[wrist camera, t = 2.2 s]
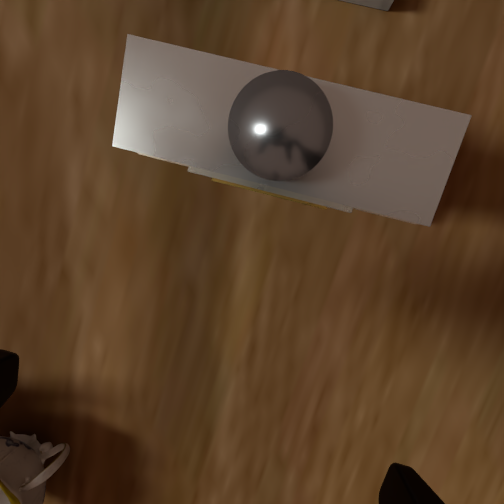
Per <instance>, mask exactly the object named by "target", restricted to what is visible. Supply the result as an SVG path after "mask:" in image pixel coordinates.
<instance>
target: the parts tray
mask: <svg viewBox="0 0 504 504" xmlns="http://www.w3.org/2000/svg"><path fill="white" fill-rule="evenodd" d="M340 1H345V2H349V3H354V4H358V5H363V6H367V7H372V8H376V9H381V10H385V11H388V10H389V8H390V6H391V5H392V3H393V1H394V0H340Z"/></svg>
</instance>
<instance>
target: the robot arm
mask: <svg viewBox="0 0 504 504" xmlns="http://www.w3.org/2000/svg"><path fill="white" fill-rule="evenodd" d="M18 369H19V356H18V355H17V354H16V353H13V352H10V351H6V350H1V349H0V408H1V406H2V405H3V404H4V403H5V402H6V401H7V399H8V398H9V397H10V396H11V395H12V393H13V392H14V390H15V388H16V386H17V381H18ZM379 504H445V503H444V502H443V501H442V500H441V499H440V498H439V497H438V496H437V494H436V493H435V492H434V491H433V490H432V489H431V488H430V487H429V486H428V485H427V484H426V482H425V481H424V480H423V479H422V478H421V477H420V476H419V475H418V474H417V473H416V471H415V470H414V469H413V468H411V467H409V466H406V465H402V464H399V463H392V464H391V465H390V467H389V469H388V472H387V474H386V476H385V479H384V481H383V484H382V486H381V488H380V492H379Z"/></svg>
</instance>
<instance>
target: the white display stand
mask: <svg viewBox="0 0 504 504" xmlns="http://www.w3.org/2000/svg"><path fill="white" fill-rule="evenodd" d="M471 116H472V115H468V114H464V113H459V112H455V111H451V110H447V109H443V108H438V107H434V106H430V105H426V104H421V103H417V102H413V101H409V100H404V99H400V98H396V97H392V96H388V95H383V94H379V93H375V92H371V91H366V90H362V89H358V88H354V87H349V86H345V85H341V84H337V83H332V82H328V81H324V80H320V79H316V78H311V77H307V76H304V75H302V74H300V73H297V72H294V71H288V70H277V69H273V68H269V67H265V66H260V65H256V64H252V63H248V62H244V61H239V60H235V59H231V58H227V57H222V56H218V55H214V54H210V53H205V52H201V51H197V50H193V49H189V48H184V47H180V46H176V45H172V44H167V43H163V42H159V41H155V40H150V39H146V38H142V37H138V36H133V35H129V34H128V35H127V43H126V50H125V57H124V64H123V72H122V79H121V86H120V93H119V101H118V108H117V115H116V122H115V130H114V137H113V144H112V146H114V147H118V148H122V149H126V150H130V151H134V152H138V154H141V155H144V156H148V157H152V158H156V159H160V160H164V161H168V162H172V163H176V164H180V165H184V166H188V167H189V168H188V171H189V172H192V173H196V174H200V175H204V176H208V177H212V181H216V182H220V183H224V184H228V185H232V186H235V187H239V188H243V189H247V190H251V191H255V192H259V193H263V194H267V195H271V196H275V197H279V198H282V199H286V200H290V201H294V202H298V203H302V204H306V205H310V206H314V207H318V208H322V209H327V207H330V208H334V209H338V210H342V211H346V212H349V213H351V212H352V209H357V210H361V211H365V212H369V213H373V214H377V215H381V216H385V217H389V218H392V219H396V220H400V221H404V222H408V223H412V224H421V225H425V226H429V227H430V225H431V222H432V220H433V217H434V214H435V212H436V209H437V206H438V204H439V201H440V198H441V196H442V193H443V190H444V188H445V185H446V182H447V180H448V177H449V174H450V172H451V169H452V166H453V164H454V161H455V158H456V156H457V153H458V150H459V148H460V145H461V142H462V140H463V137H464V134H465V132H466V129H467V126H468V124H469V121H470V118H471Z"/></svg>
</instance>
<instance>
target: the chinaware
mask: <svg viewBox="0 0 504 504" xmlns="http://www.w3.org/2000/svg"><path fill="white" fill-rule="evenodd" d="M62 450H63V451H62ZM60 451H62V452H61V454H60V455H59V456H58V457H57V458H56V459H55V460H54V461H53V462H52V463H51V464H50V465H49V466H48V467H46V468H45V469H44V466H43V464H44V462H45V460H46V459H47V458H49V457H51V456H53V455H55V454H56V453H58V452H60ZM69 452H70V447H69V445H68V444H67V443H61V444H58V445H57V446H55V447H54V448H53V445H52V443H51V442H45V443H43V444H42V445H41V444H40V443H39V442H38V441H37V439H36V435H35V434H34V435H32V436H29V435H24V434H14V433H13V432H12V431H10V437H5V436H0V504H43V502H44V498H45V492H46V480H47V479H48V478H49V477H51V476H52V475H53V474H54V473H55V472H56V471H57V470H58V468H59V467H60V466H61V465H62V464H63V462H64V461H65V459H66V458H67V456H68V455H69Z"/></svg>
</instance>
